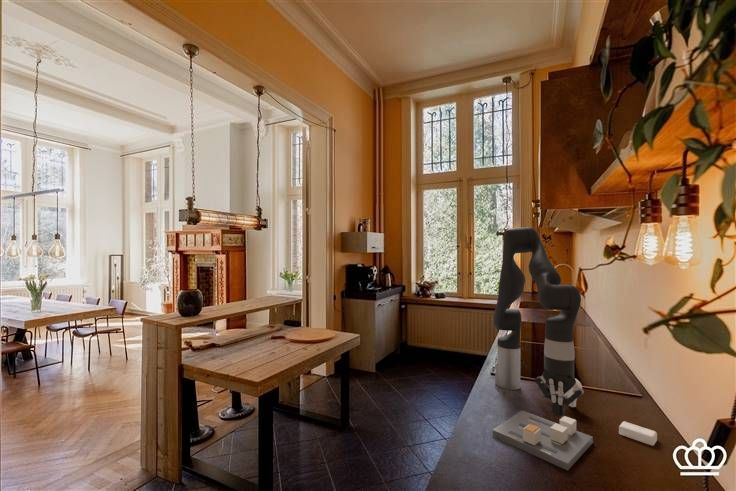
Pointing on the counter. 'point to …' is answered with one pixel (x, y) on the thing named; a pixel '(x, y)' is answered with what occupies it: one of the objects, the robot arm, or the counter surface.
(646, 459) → the counter surface
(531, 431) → the block
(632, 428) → the soap
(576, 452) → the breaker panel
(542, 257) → the robot arm
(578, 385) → the lightbulb
